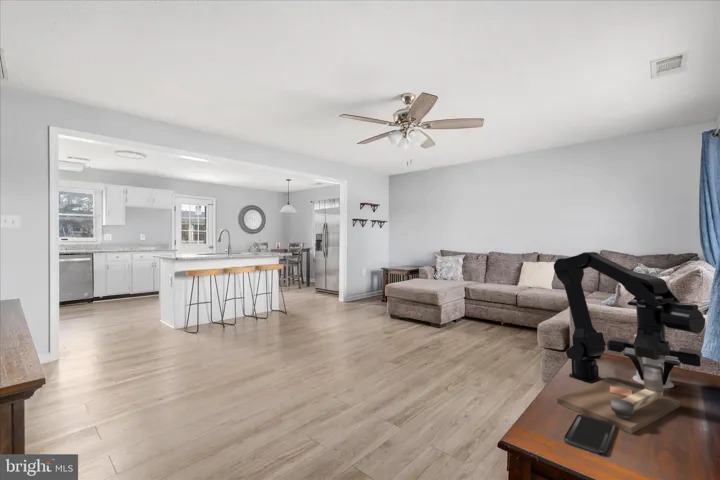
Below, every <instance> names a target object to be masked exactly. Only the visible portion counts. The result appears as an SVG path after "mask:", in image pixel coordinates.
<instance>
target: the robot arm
mask: <svg viewBox="0 0 720 480" xmlns="http://www.w3.org/2000/svg"><path fill="white" fill-rule="evenodd" d="M588 268H591V269H593V270H595V271H597V272H598V273H600V274H602V275H604V276H606V277H608V278H609V279H612V280H613V281H616V282H617V283H619V284H620V285H622V286H623V288H624V289H625V290H626V291H627V292H628V293H629V294H631V295H632V296H633V299H631V300H630V301H628V302H627V305H628V306H633V307H635V309H636V334H637V335H636V338H635V337H634V341H633V343H632V342H630V341H629V339H628V338H623V337H617V336H613V337H612V338H610V339H608V341H607V344H606V341H605V339H604V333H603V332H602V331H597V329H595V328H594V327H593V326H594V325H593V323H592V320H591V319H592V318H591V315H590V314H591V313H590V311H589V308H588V304H587V300H586V296H585V292H584V288H583V285H582V282H583V279H584V275H585V271H584V270H585V269H588ZM553 270H554V273H555V275H556V277H557V279H558V280H559V281H560V282H561V283H562V284H563V285H564V290H565V293H566V298H567V302H568V304H569V309H570V314H571V317H572V321H573V325H574V330H573V333H572V337H571V339H572V346H570V347H569V348H568V349H567V350H566V351H565V354H566V356H567V358H568V359H570V360H571V373H569V374H568V376H569V377H570V378H573V379H576V380H581V381H583V382H586V383H593V382H594V381H598V380H600V379H601V376H600V373H599V372H600V371H599V369H600V368H599V365H598V362H597V360H600V359H601V357H602V355H603V354H604V352H605V351H606V349H607V351H612V352H616V353H622V352H624V353H623V355H624V356H625V357H627V358H629V359H630V360H631V362H632V363H633V365H634V366H635V368H636V369H637V370H636V369H635V370H636V372H637V371H638V373H639V376H640V378H641V380H644V379H643V360H642V357H645V358H650V359H652V360H658V359H659V358H660V355H662V356H665V359H666V360H665V361H664V371H663V385H665V384H666V382H667V380H668V377H669V378H670V374H671V372H672V370H673V368H674V367H675V366H676V367H680V366H681V365H686V366H693V367H701V366H702V364H703V352H701V351H700V350H699V349H693V348H687V347H680V348H679V349H678V351H677V350H676V349H674V350H673V349H671V345H670V344H671V343H670V341H669V340H668V341H666V338H667V337H666V328H668V329H672V330H677V331H682V332H687V333H692V334H700V333H702V332H703V330H704V328H705V327H706V326H705V325H706V318H705V317H704V314H703V312H702V311H700V310H699V305H698V304H693V303H688V304H686V303H681V302H680V300H679V299H678V298H677V297H676V296H675V294H674V293H673V292H672V291H671V289H670V288H669V287H668V285H667V283H668V282H666V281H665V279H663V278H661V277H658V276H654V275H651V274H648V273H643V272H638V271H634V270H632V269H630V268H627V267H625V266H623V265H621V264H619V263H617V262H615V261H612V260H611V259H608V258H606V257H605V256H602V255H600V254H599V253H598V252H595V251H586V252H582V253H579V254H576V255H574V256H573V255H572V256H570V257H567V258H558V259H556V260H555V261H554V263H553ZM669 343H670V344H669ZM606 346H607V348H606Z"/></svg>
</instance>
